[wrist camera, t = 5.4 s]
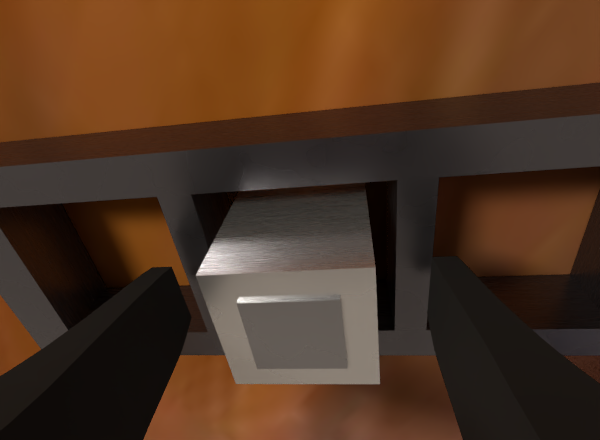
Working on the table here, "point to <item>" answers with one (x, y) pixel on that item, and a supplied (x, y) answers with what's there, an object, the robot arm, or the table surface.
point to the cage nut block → (295, 286)
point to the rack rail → (300, 173)
